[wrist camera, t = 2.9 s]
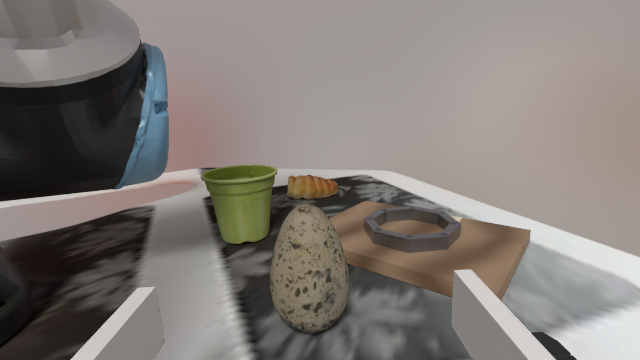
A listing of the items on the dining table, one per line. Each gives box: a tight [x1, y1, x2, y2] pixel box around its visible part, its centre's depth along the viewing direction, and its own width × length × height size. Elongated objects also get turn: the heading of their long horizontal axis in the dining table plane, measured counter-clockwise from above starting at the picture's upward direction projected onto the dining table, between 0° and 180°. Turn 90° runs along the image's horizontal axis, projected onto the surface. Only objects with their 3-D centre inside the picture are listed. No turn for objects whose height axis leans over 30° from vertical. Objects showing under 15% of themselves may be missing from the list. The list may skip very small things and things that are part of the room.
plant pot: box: [201, 165, 277, 244], centre depth 44 cm, size 9×9×9 cm
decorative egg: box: [270, 204, 349, 333], centre depth 26 cm, size 6×6×10 cm
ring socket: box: [364, 206, 461, 253], centre depth 40 cm, size 10×10×2 cm
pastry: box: [287, 175, 338, 199], centre depth 63 cm, size 9×7×4 cm
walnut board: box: [329, 201, 531, 301], centre depth 40 cm, size 22×16×2 cm
